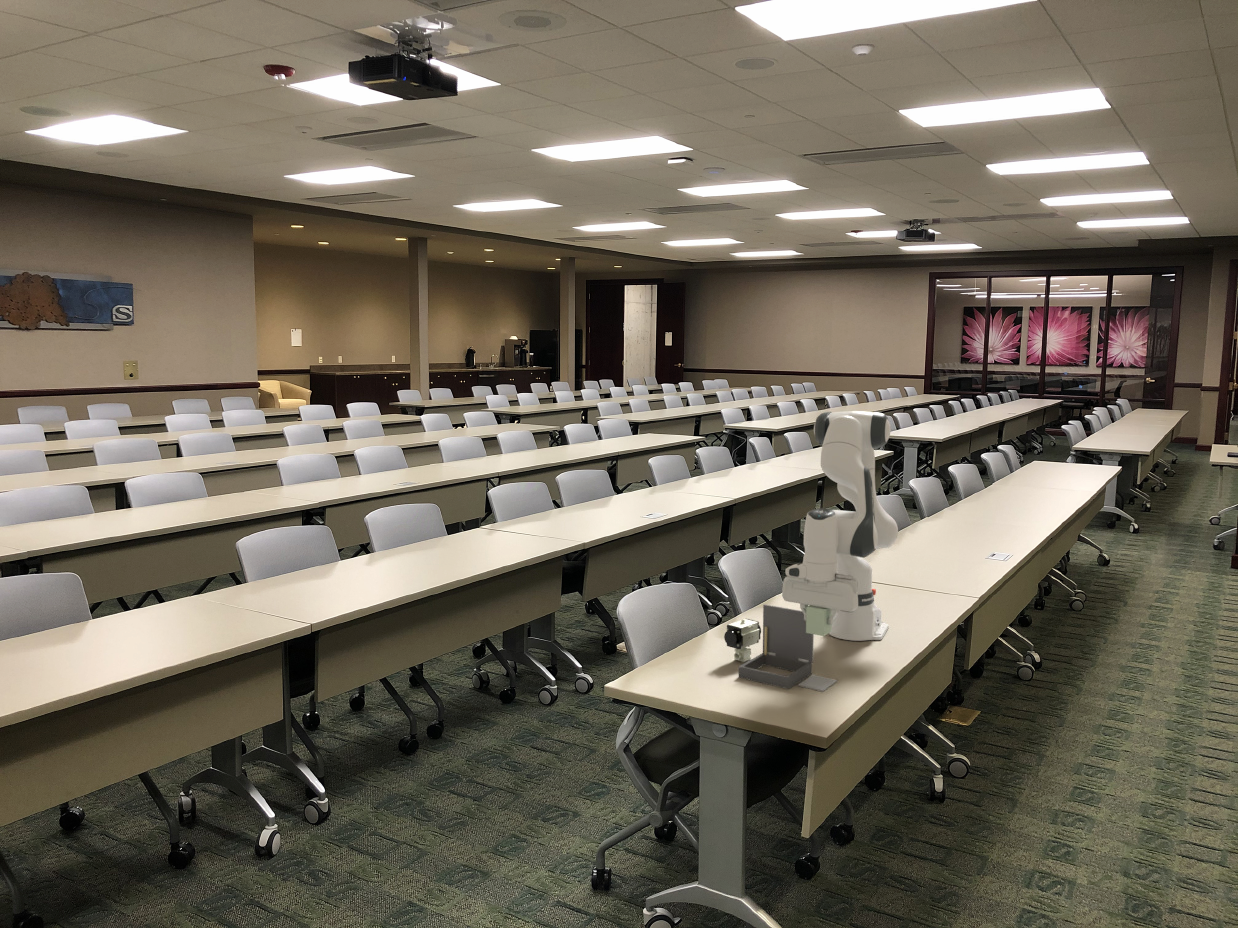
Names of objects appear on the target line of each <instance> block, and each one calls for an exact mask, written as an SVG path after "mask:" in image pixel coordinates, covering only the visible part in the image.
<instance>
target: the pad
mask: <svg viewBox="0 0 1238 928" xmlns="http://www.w3.org/2000/svg"><path fill="white" fill-rule="evenodd" d="M837 682H838V680H837V679H834V678H828V677H825V676H821V675H820V676H819V675H816V674H811V675H809V676H808V677H806V678H805V679H803V680H802V681H800V682H799V683H797V684H798V687H801V688H805V689H808V690H813V691H819V692H822V693H823V692H825V691H826V690H827V689H829V688H830V687H832V686H834V684H836V683H837Z"/></svg>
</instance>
